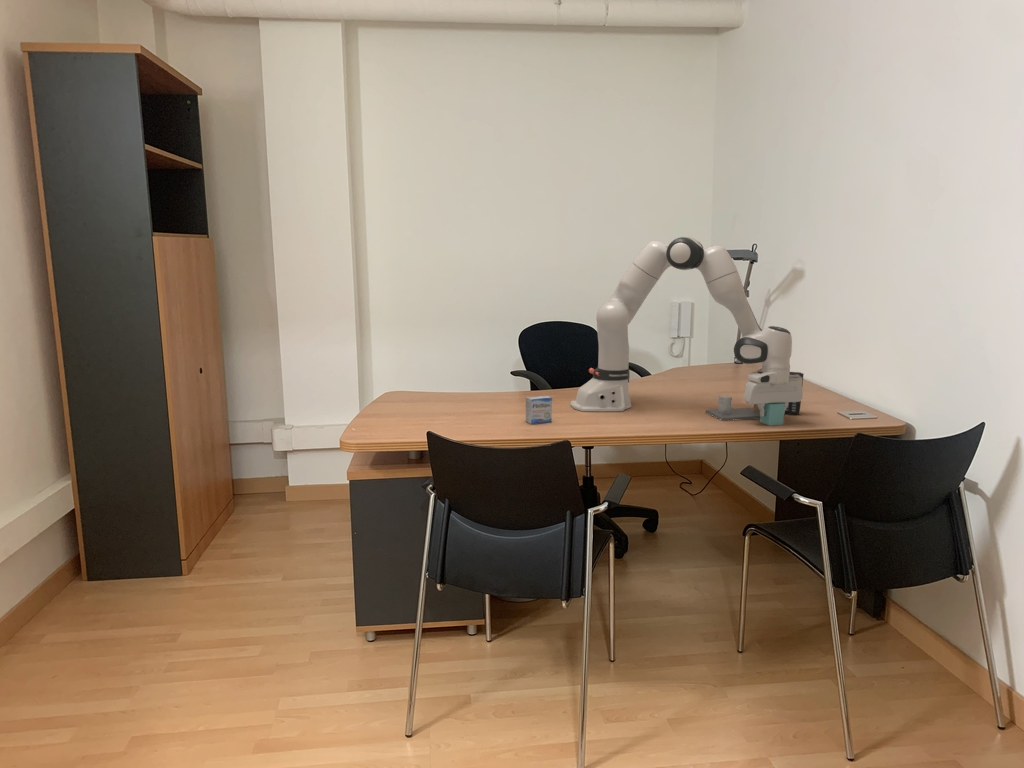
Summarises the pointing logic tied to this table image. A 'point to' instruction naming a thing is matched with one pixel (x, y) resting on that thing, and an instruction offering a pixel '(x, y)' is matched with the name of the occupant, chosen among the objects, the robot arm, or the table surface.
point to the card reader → (794, 406)
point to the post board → (737, 413)
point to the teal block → (773, 414)
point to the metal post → (724, 405)
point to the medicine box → (538, 409)
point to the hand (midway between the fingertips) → (772, 415)
